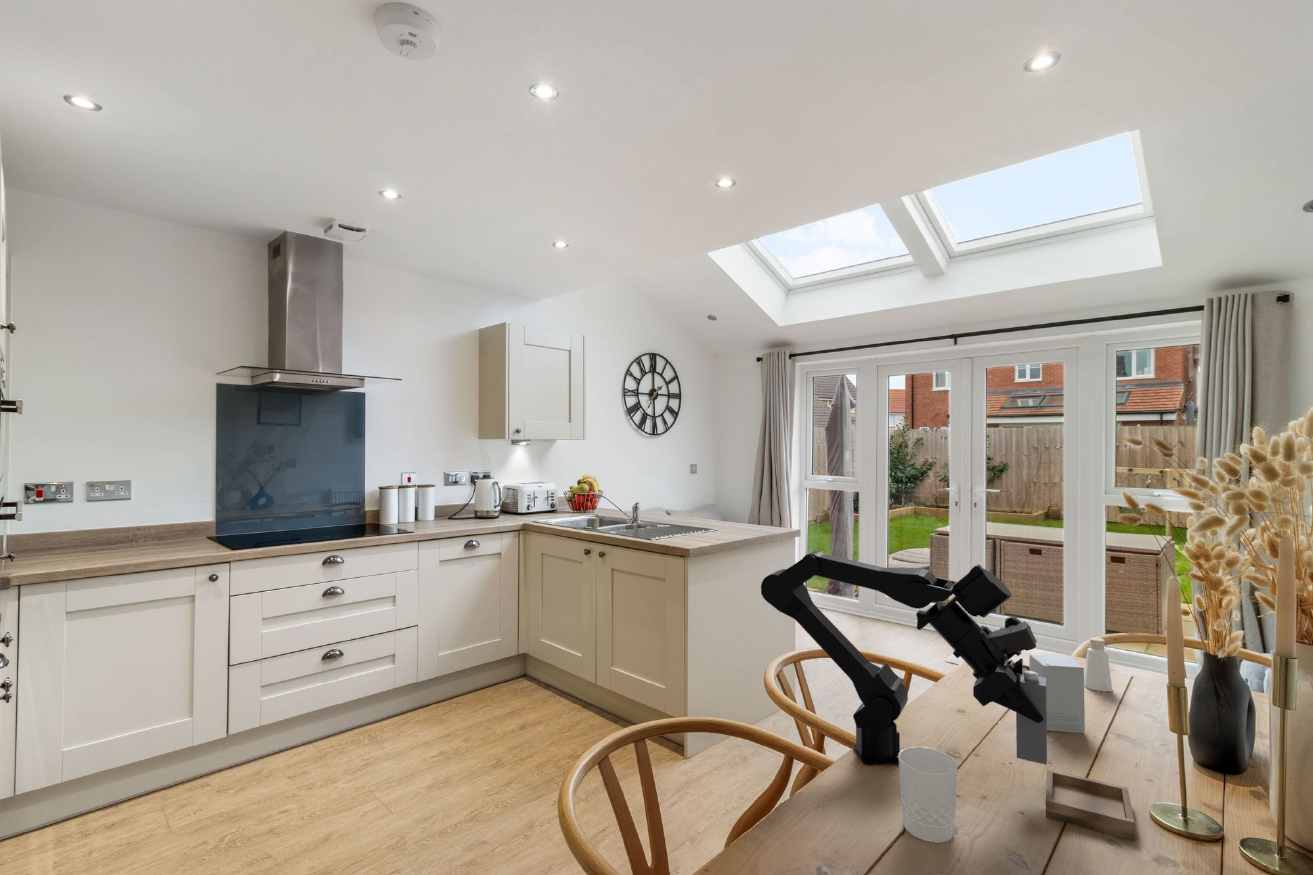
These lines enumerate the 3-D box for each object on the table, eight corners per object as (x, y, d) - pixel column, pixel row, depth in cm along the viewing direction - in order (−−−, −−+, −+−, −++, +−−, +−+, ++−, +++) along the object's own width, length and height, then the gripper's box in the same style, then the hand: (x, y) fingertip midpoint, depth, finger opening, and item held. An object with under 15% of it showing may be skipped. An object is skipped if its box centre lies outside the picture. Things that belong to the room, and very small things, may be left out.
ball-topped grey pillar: (1016, 757, 99) (1015, 674, 99) (1018, 747, 103) (1017, 666, 103) (1046, 764, 97) (1045, 679, 97) (1047, 753, 100) (1046, 671, 100)
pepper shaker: (1118, 692, 140) (1117, 642, 141) (1093, 692, 141) (1093, 642, 141) (1101, 682, 146) (1101, 635, 146) (1077, 683, 146) (1077, 635, 146)
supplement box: (1086, 734, 121) (1085, 667, 121) (1043, 730, 122) (1042, 665, 122) (1069, 717, 128) (1068, 654, 128) (1028, 714, 129) (1028, 652, 129)
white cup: (954, 853, 86) (953, 779, 86) (893, 834, 90) (893, 764, 90) (961, 823, 93) (960, 755, 93) (904, 807, 97) (904, 741, 97)
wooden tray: (1045, 816, 94) (1045, 800, 94) (1047, 784, 103) (1046, 768, 103) (1134, 840, 89) (1134, 822, 89) (1127, 803, 98) (1127, 787, 98)
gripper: (996, 618, 94) (1087, 708, 88) (1005, 592, 110) (1083, 668, 104) (940, 661, 98) (1022, 751, 92) (956, 630, 114) (1028, 705, 108)
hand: (1041, 715), depth 99 cm, fingers closed on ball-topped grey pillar, 4 cm apart
